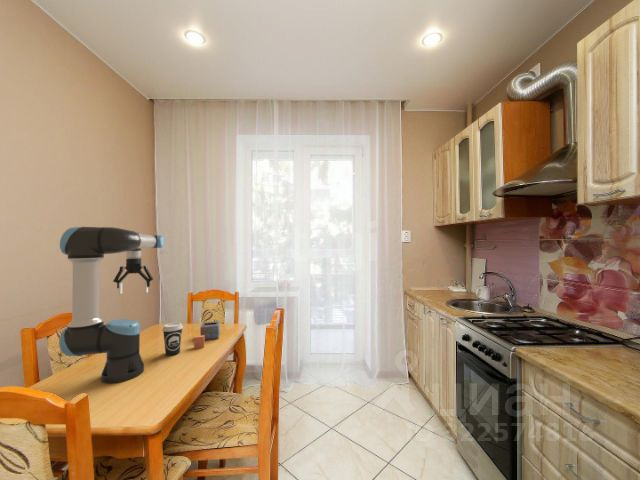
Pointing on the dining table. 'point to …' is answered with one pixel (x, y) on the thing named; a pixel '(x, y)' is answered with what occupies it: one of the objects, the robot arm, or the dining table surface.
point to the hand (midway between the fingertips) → (133, 293)
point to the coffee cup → (172, 338)
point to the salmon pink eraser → (199, 342)
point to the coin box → (210, 330)
